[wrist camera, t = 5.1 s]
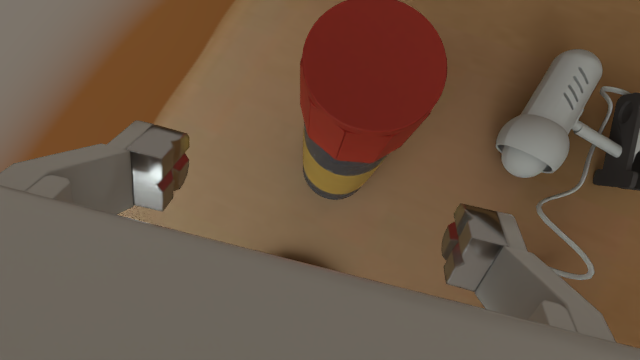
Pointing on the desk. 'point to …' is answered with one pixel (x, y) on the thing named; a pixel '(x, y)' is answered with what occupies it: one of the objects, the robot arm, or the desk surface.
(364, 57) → the cap
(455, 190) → the desk surface
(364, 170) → the spray can
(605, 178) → the clip-on lamp
